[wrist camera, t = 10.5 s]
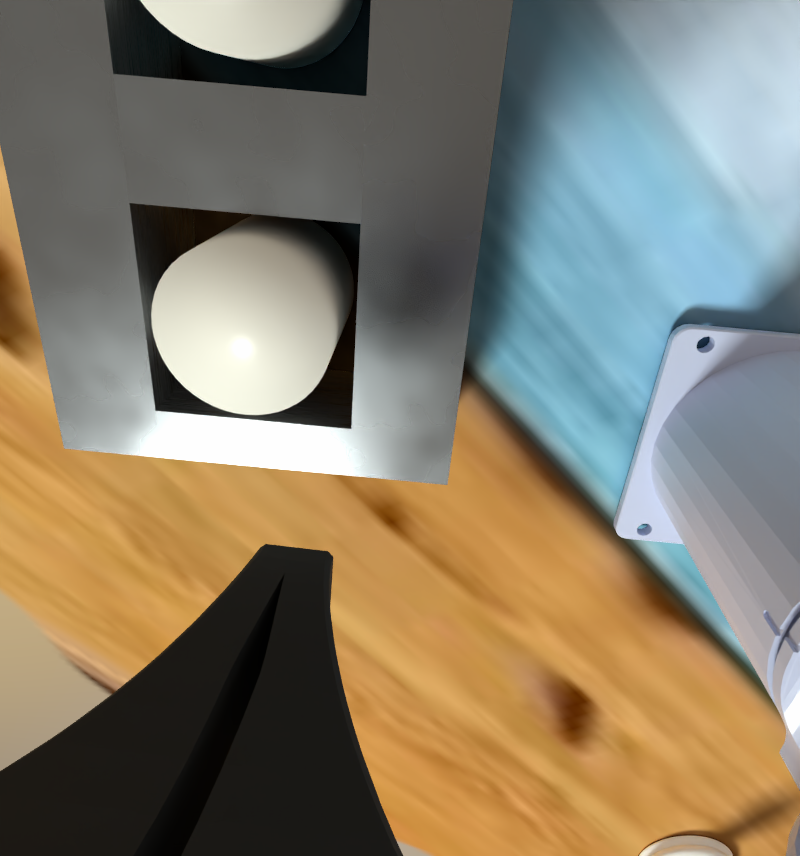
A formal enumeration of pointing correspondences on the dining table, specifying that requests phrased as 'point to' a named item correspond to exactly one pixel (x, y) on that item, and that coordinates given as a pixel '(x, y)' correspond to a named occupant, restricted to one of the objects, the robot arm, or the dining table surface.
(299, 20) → the knob middle
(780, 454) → the robot arm
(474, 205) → the knob mount
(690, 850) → the chess piece
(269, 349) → the knob
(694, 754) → the dining table surface
